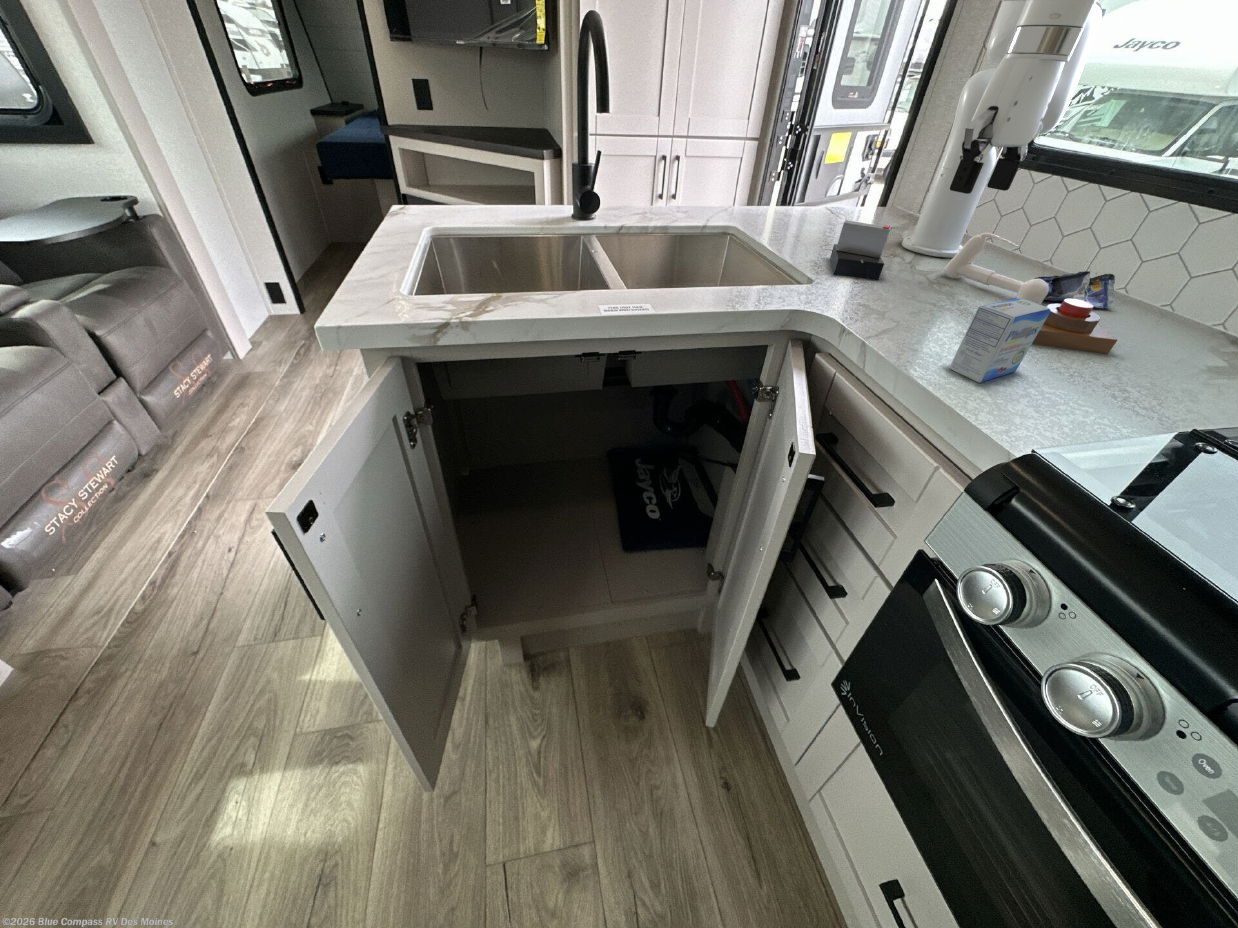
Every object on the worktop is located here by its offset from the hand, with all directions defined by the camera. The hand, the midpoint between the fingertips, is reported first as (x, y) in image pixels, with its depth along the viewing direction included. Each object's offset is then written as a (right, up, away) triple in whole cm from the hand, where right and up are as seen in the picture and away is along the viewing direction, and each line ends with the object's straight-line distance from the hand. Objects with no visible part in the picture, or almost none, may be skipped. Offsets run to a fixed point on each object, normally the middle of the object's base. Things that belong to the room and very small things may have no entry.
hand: (978, 190), depth 78 cm
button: (+11, -20, -4) cm, 23 cm away
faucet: (+12, -10, +15) cm, 21 cm away
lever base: (-10, -4, +20) cm, 23 cm away
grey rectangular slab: (-10, -2, +18) cm, 21 cm away
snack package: (+23, -13, +12) cm, 29 cm away
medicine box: (-8, -30, -11) cm, 33 cm away
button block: (+11, -23, -2) cm, 25 cm away
